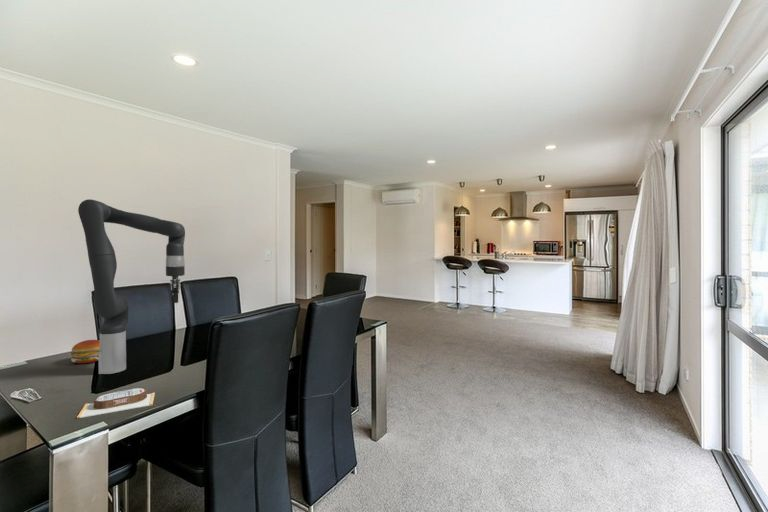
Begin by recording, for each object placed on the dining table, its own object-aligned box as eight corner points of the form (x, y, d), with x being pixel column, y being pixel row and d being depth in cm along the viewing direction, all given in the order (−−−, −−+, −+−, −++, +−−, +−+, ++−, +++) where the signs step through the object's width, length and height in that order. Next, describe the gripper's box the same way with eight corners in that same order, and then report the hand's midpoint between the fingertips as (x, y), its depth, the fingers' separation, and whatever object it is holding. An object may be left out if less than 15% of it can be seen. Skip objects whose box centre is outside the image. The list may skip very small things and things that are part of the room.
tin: (94, 402, 122) (92, 413, 115) (94, 393, 122) (92, 404, 115) (146, 392, 131) (147, 401, 124) (146, 384, 131) (147, 393, 124)
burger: (82, 366, 161) (82, 345, 161) (63, 363, 165) (62, 342, 165) (113, 358, 174) (113, 338, 174) (94, 355, 178) (94, 335, 178)
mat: (76, 418, 111) (76, 417, 111) (85, 405, 121) (85, 403, 121) (152, 405, 121) (152, 403, 121) (154, 393, 131) (154, 392, 131)
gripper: (166, 265, 167) (166, 301, 167) (164, 266, 155) (165, 305, 156) (184, 264, 170) (184, 300, 171) (184, 265, 159) (184, 304, 159)
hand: (175, 302), depth 163 cm, fingers closed
